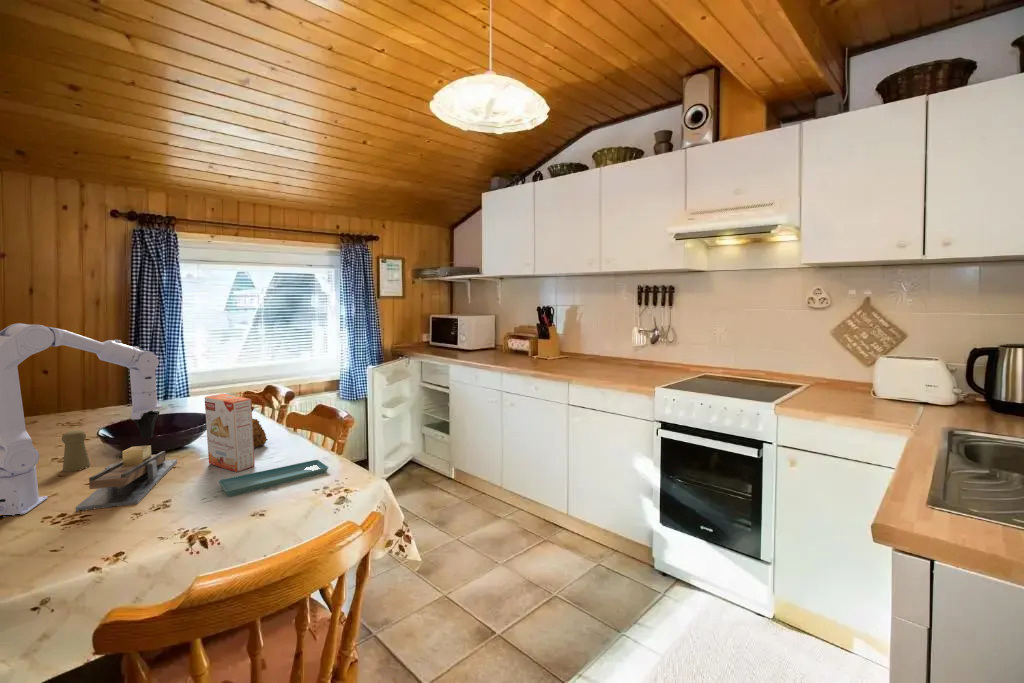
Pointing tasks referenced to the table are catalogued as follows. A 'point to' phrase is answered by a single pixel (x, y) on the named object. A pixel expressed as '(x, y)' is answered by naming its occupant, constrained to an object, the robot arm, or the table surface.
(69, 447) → the olive green shaker
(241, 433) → the cracker box
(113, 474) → the walnut beam
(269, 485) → the rectangular tray
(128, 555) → the table surface
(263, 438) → the stuffed squirrel
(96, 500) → the pivot stand
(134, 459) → the brass block
